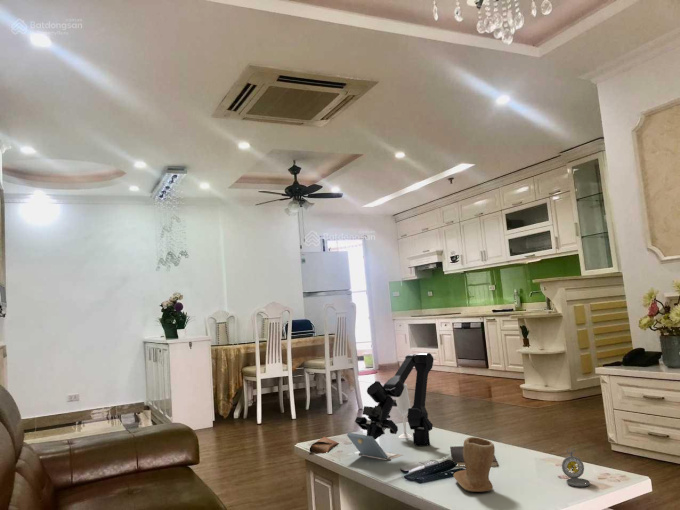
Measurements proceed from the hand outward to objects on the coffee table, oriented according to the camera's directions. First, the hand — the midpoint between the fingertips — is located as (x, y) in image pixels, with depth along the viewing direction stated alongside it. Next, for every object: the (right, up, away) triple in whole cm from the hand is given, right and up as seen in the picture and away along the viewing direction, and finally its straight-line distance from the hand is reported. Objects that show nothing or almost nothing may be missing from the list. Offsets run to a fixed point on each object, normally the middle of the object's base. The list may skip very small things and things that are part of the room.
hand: (367, 443), depth 200 cm
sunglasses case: (-17, -12, +26) cm, 34 cm away
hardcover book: (+40, -5, -3) cm, 41 cm away
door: (+3, -6, +2) cm, 7 cm away
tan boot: (+33, 0, -38) cm, 50 cm away
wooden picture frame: (+6, -7, +5) cm, 11 cm away
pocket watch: (+64, +2, -40) cm, 75 cm away
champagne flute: (+20, -11, +39) cm, 46 cm away
